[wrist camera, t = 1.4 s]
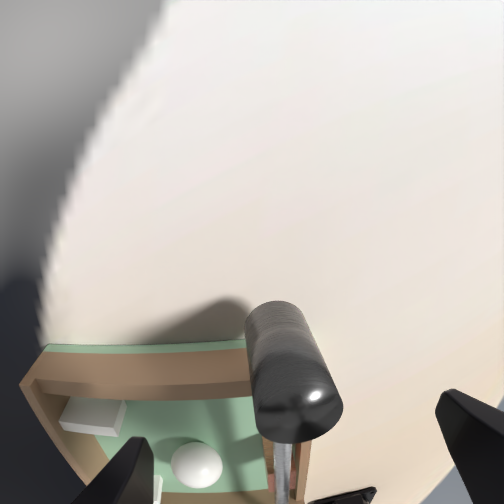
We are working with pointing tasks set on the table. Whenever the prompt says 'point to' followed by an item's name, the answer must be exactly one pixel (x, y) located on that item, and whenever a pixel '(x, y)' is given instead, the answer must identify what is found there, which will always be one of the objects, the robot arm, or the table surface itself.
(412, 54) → the table surface
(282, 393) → the rubber mallet
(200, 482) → the ball
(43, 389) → the pitch
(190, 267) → the table surface
